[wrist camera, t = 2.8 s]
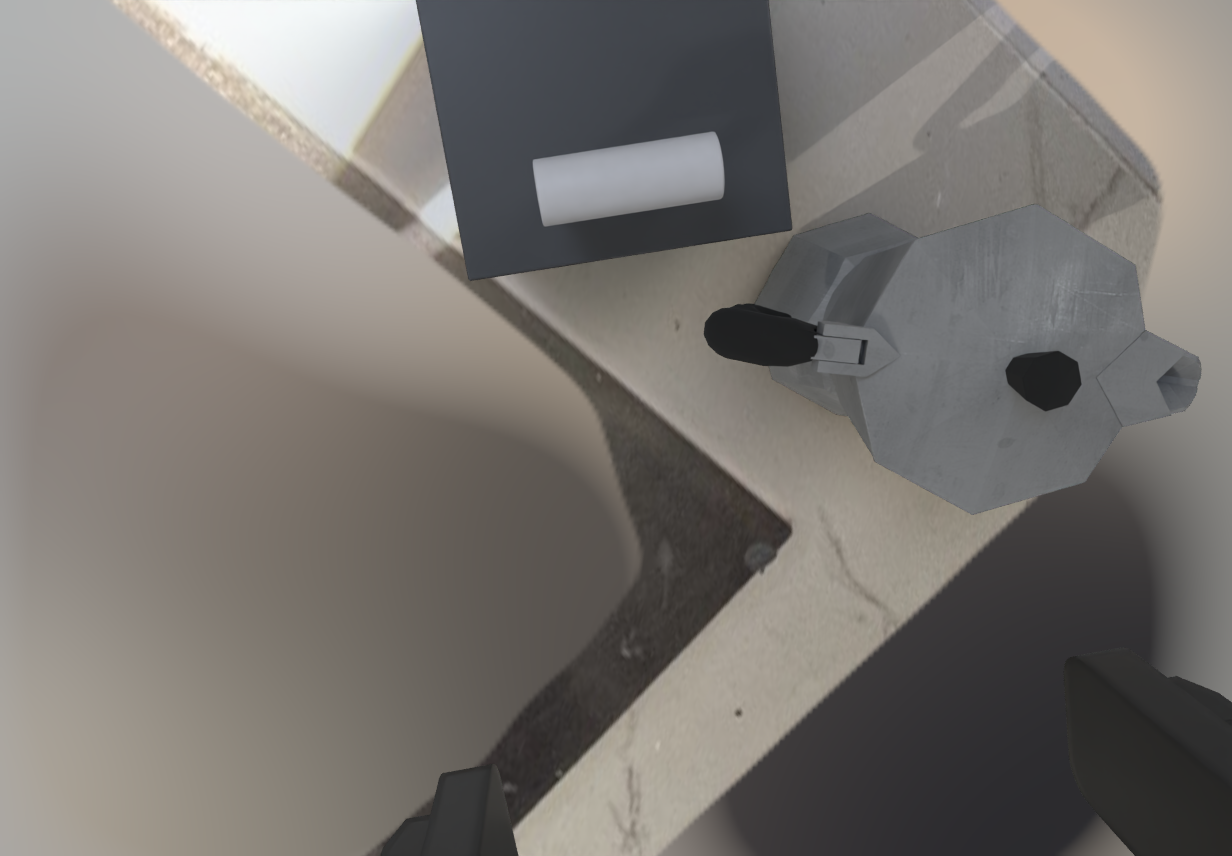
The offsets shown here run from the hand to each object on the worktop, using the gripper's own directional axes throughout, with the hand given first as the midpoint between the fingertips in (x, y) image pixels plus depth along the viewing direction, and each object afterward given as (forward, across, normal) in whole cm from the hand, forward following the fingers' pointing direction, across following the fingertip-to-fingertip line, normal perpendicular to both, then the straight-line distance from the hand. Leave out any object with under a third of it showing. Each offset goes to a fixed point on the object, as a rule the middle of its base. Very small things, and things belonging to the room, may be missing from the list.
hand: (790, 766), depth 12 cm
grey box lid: (+19, 0, +13) cm, 23 cm away
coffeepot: (+30, +9, +2) cm, 32 cm away
